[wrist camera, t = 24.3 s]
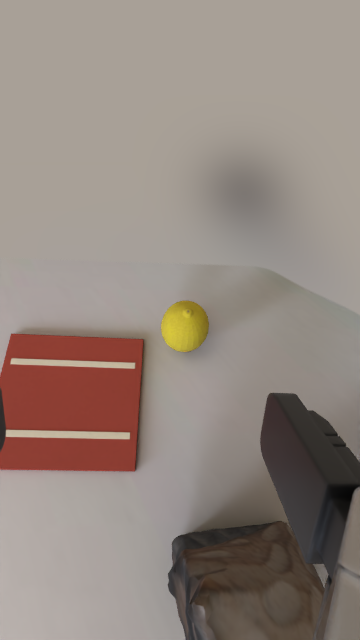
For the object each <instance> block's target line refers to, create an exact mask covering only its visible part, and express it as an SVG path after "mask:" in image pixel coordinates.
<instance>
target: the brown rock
mask: <svg viewBox="0 0 360 640" xmlns="http://www.w3.org/2000/svg"><path fill="white" fill-rule="evenodd" d="M172 559H173V567H172V569H171V570H170V572H169V573H168V577H169V583H168V588H169V591H170V593H171V594H172V595H173V596H174V597H175V599H176V603H177V608H178V614H179V617H180V620H181V623H182V625H183V628H184V632H185V637H186V640H312V639H313V635H314V630H315V626H316V622H317V618H318V614H319V610H320V606H321V602H322V597H323V593H324V587H323V585H322V582H321V580H320V578H319V576H318V574H317V572H316V569H315V567H314V566H313V564H306V562H305V560H304V557H303V555H302V552H301V550H300V547H299V545H298V542H297V540H296V538H295V536H294V533H293V532H292V530H291V528H290V527H289V525H288V524H287V523H284V522H281V521H277V522H274V523H269V524H263V525H252V526H244V527H235V528H225V529H211V530H207V531H202V532H192V533H188V534H184V535H180V536H178V537H176V538H175V539H174V540H173V542H172Z"/></svg>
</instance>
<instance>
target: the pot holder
mask: <svg viewBox="0 0 360 640" xmlns="http://www.w3.org/2000/svg"><path fill="white" fill-rule="evenodd" d="M142 356H143V339H122V338H99V337H75V336H51V335H28V334H11V337H10V341H9V345H8V348H7V352H6V356H5V360H4V364H3V368H2V372H1V376H0V388H1V391H2V399H3V407H4V416H5V424H6V437H5V442H4V445H3V448H2V450H1V452H0V469H1V470H74V471H135V466H136V450H137V435H138V419H139V403H140V387H141V372H142Z"/></svg>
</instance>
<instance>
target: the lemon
mask: <svg viewBox="0 0 360 640" xmlns="http://www.w3.org/2000/svg"><path fill="white" fill-rule="evenodd" d="M208 328H209V322H208V317H207V315H206V312H205V311H204V309H203V308H202V307H201V306H200V305H198V304H197V303H194V302H191V301H180V302H177V303H175V304H173V305H172V306H171V307H170V308H169V309H168V310H167V311H166V313H165V314H164V317H163V320H162V323H161V331H162V335H163V338H164V340H165V342H166V343H167V344H168V345H169V346H170V347H171V348H173V349H174V350H177V351H181V352H188V351H192V350H194V349H196V348H198V347H199V346H200V345H201V344H202V343H203V342H204V340H205V339H206V336H207V334H208Z"/></svg>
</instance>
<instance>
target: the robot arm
mask: <svg viewBox="0 0 360 640" xmlns="http://www.w3.org/2000/svg"><path fill="white" fill-rule="evenodd" d="M5 437H6V424H5V416H4V407H3V399H2V391H1V388H0V452H1V450H2V448H3V445H4V442H5ZM260 444H261V452H262V456H263V459H264V461H265V463H266V466H267V468H268V471H269V473H270V476H271V478H272V481H273V483H274V486H275V488H276V491H277V493H278V496H279V498H280V500H281V503H282V505H283V508H284V510H285V513H286V515H287V518H288V520H289V523H290V525H291V528H292V530H293V533H294V535H295V538H296V540H297V542H298V545H299V547H300V550H301V552H302V555H303V557H304V560H305V562H306V564H324V565H325V567H326V569H327V572H328V574H329V575H328V578H327V581H326V585H325V589H324V593H323V597H322V602H321V606H320V610H319V614H318V618H317V622H316V626H315V630H314V635H313V639H312V640H360V462H359V461H358V460H357V458H356V457H355V456H354V454H353V453H352V452H351V451H350V449H349V448H348V447H346V444H345V443H344V441H343V440H342V439H341V438H340V436H338V434H337V432H336V431H335V430H334V429H333V427H332V426H331V425H330V423H329V422H328V421H327V420H325V419H324V418H323V417H321V416H320V415H318V414H317V413H316V412H314V411H308V410H307V409H306V407H305V406H304V405H303V403H302V402H301V400H300V399H299V398H298V396H297V395H296V394H288V393H270V394H269V395H268V398H267V402H266V408H265V413H264V419H263V425H262V431H261V438H260Z"/></svg>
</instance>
